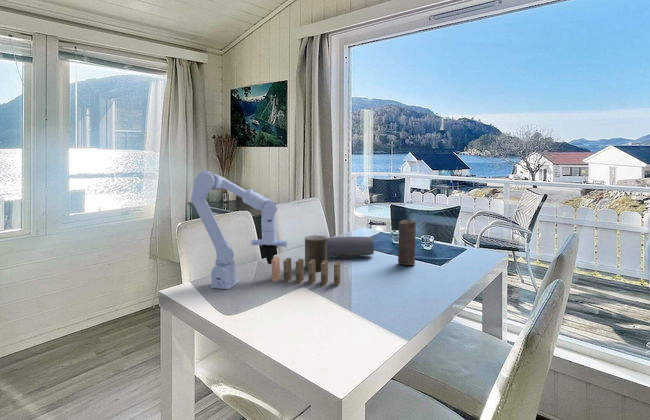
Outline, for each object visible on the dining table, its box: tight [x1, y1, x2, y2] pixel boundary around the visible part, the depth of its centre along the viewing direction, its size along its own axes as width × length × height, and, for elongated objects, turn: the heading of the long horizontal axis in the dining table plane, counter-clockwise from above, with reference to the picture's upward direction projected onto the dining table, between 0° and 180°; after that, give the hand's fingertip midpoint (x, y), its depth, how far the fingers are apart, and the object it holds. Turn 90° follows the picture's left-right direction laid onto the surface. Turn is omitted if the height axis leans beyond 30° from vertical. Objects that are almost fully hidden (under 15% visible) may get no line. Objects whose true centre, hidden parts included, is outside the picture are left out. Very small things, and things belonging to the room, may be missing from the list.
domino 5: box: [320, 259, 329, 286], centre depth 145 cm, size 5×2×8 cm, turn 166°
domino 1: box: [270, 256, 281, 282], centre depth 150 cm, size 5×2×8 cm, turn 166°
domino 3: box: [295, 258, 304, 284], centre depth 147 cm, size 5×2×8 cm, turn 166°
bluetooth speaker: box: [327, 236, 375, 259], centre depth 178 cm, size 23×9×10 cm, turn 92°
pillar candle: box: [304, 234, 328, 272], centre depth 162 cm, size 10×10×15 cm
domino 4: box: [307, 259, 317, 285], centre depth 146 cm, size 5×2×8 cm, turn 166°
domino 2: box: [283, 257, 293, 283], centre depth 148 cm, size 5×2×8 cm, turn 166°
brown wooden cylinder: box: [397, 219, 417, 266], centre depth 165 cm, size 8×7×20 cm
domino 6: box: [333, 260, 341, 287], centre depth 144 cm, size 5×2×8 cm, turn 166°
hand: (270, 263), depth 150 cm, fingers closed
